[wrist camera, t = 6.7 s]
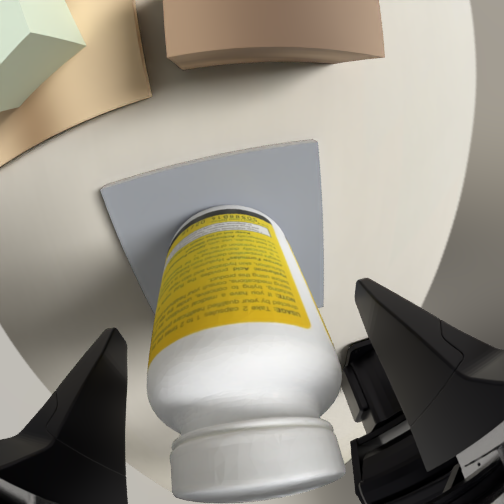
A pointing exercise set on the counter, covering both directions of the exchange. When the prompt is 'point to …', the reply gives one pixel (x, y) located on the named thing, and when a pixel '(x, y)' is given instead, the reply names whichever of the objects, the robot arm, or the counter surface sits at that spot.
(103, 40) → the cork coaster
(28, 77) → the sage cube
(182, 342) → the supplement bottle
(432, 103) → the counter surface
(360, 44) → the walnut block
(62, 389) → the robot arm
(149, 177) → the slate coaster
